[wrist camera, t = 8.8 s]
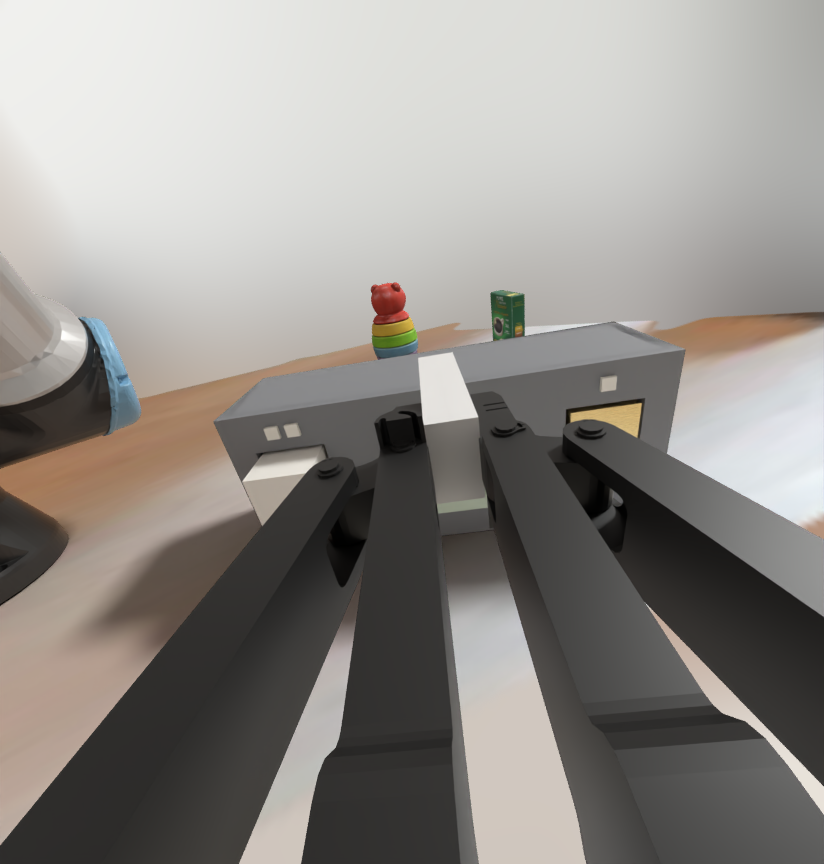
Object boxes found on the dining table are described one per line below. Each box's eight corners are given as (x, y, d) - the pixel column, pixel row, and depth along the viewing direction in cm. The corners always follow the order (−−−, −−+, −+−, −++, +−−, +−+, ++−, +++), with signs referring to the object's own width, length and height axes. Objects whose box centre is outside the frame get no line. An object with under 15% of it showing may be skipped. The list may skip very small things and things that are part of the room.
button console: (658, 513, 30) (688, 350, 24) (274, 557, 33) (211, 423, 27) (602, 451, 40) (613, 321, 33) (304, 490, 42) (263, 378, 36)
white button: (329, 527, 27) (309, 472, 25) (266, 534, 28) (241, 481, 26) (343, 481, 33) (328, 432, 30) (290, 488, 33) (272, 441, 31)
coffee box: (527, 365, 68) (525, 291, 62) (513, 368, 67) (510, 295, 61) (506, 356, 75) (502, 289, 69) (493, 359, 74) (489, 292, 68)
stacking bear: (434, 363, 79) (422, 275, 71) (408, 380, 72) (391, 285, 64) (395, 362, 85) (380, 281, 77) (368, 377, 78) (347, 290, 70)
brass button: (634, 461, 28) (641, 403, 26) (568, 469, 29) (571, 413, 26) (599, 427, 34) (603, 376, 31) (545, 434, 34) (545, 385, 32)
